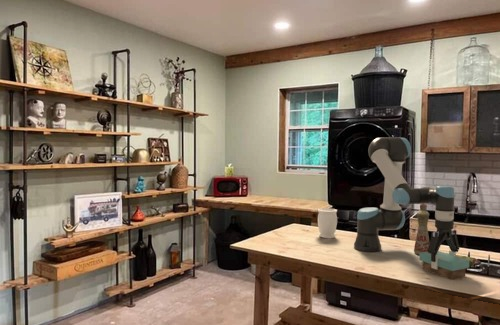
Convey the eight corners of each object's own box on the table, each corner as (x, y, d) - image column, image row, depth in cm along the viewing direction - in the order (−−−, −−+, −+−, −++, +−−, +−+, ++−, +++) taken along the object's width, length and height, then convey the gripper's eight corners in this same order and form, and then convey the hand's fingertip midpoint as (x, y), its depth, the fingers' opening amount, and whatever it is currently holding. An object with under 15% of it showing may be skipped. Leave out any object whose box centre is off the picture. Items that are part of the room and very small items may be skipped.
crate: (422, 270, 171) (422, 256, 171) (435, 268, 175) (435, 253, 175) (451, 281, 158) (452, 265, 157) (465, 278, 161) (465, 262, 161)
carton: (440, 259, 190) (440, 251, 190) (475, 265, 180) (476, 257, 180) (436, 263, 184) (436, 254, 184) (472, 269, 174) (473, 261, 173)
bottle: (434, 254, 198) (435, 203, 197) (427, 257, 193) (428, 205, 191) (418, 250, 205) (419, 201, 204) (411, 253, 199) (411, 203, 198)
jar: (313, 235, 241) (313, 208, 240) (328, 233, 246) (328, 207, 246) (326, 239, 229) (326, 211, 229) (341, 237, 235) (341, 210, 234)
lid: (419, 260, 172) (419, 252, 171) (435, 257, 176) (435, 250, 176) (452, 271, 156) (452, 263, 156) (469, 267, 161) (469, 259, 161)
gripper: (433, 223, 157) (432, 273, 158) (469, 219, 167) (467, 265, 168) (419, 220, 164) (418, 267, 165) (453, 216, 174) (452, 261, 174)
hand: (443, 266), depth 166 cm, fingers closed on lid, 11 cm apart
